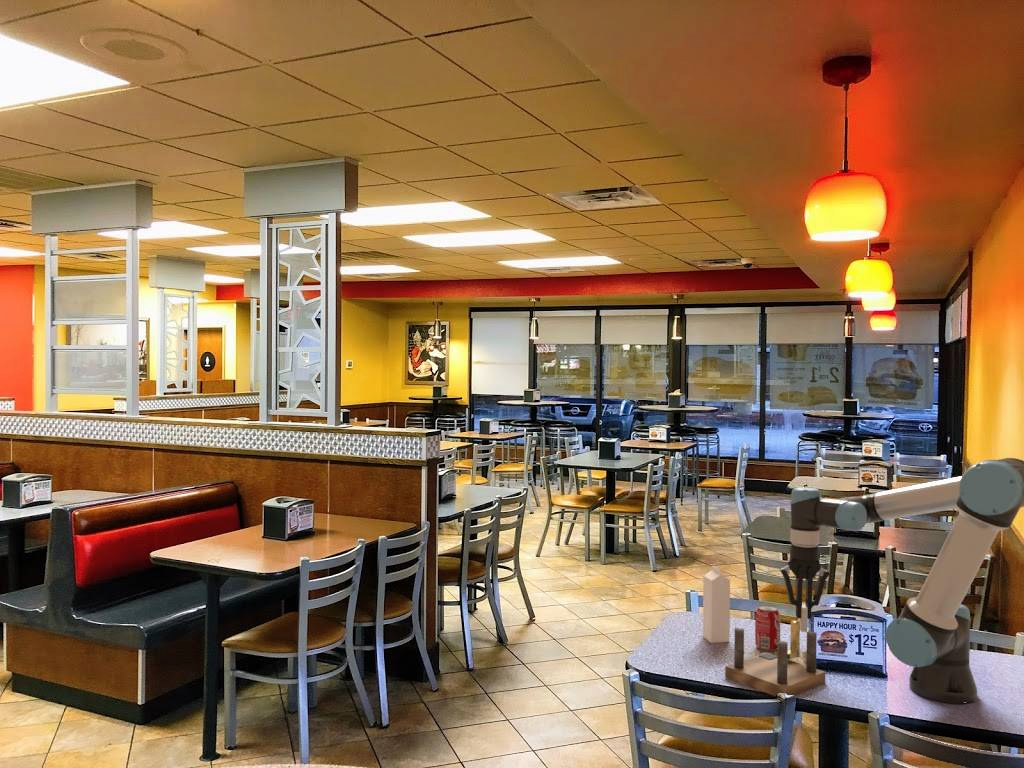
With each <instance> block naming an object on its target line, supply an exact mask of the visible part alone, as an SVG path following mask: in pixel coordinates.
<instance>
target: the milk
mask: <svg viewBox="0 0 1024 768" xmlns="http://www.w3.org/2000/svg"><path fill="white" fill-rule="evenodd" d="M702 577H703V579H702V580H703V582H702V585H703V586H702V587H703V588H702V589H703V591H702V592H703V593H702V595H703V596H702V601H703V602H702V603H703V604H702V637H703V638H704V639H705V640H706V641H708V642H709V643H711V644H714V643H715V644H717V643H729V642H730V633H731V631H730V629H731V627H730V625H731V623H730V619H731V615H730V614H731V613H730V612H731V579H730V578H728V577H726V576H724V575H723V574H722V569H721V568H719V567H717V566H715V565H711V570H710V571H709V572H707V573H704V574H703V575H702Z"/></svg>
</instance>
